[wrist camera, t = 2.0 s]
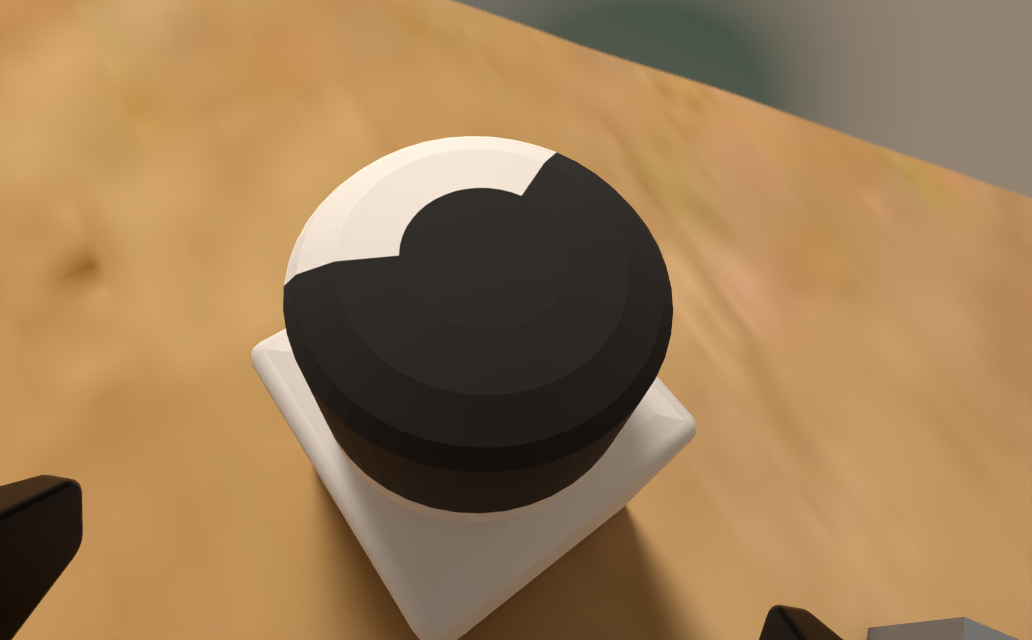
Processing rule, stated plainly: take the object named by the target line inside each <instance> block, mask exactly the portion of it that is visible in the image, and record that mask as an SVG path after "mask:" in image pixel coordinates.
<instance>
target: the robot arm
mask: <svg viewBox="0 0 1032 640" xmlns="http://www.w3.org/2000/svg"><path fill="white" fill-rule="evenodd" d="M82 535H83V521H82V489H81V486H80V484H79V483H78V482H77V481H75V480H73V479H69V478H63V477H57V476H52V475H40V476H36V477H33V478H29V479H25V480H22V481H18V482H14V483H10V484H7V485H3V486H0V640H12V639H13V637H14V636H15V635H16V633H17V632H18V631H19V629H20V628H21V627H22V625H23V624H24V623H25V621H26V620H27V619H28V617H29V616H30V615H31V613H32V612H33V611H34V609H35V608H36V607H37V605H38V604H39V603H40V601H41V600H42V599H43V597H44V596H45V595H46V594H47V592H48V591H49V590H50V588H51V587H52V586H53V584H54V583H55V582H56V580H57V579H58V578H59V576H60V575H61V574H62V572H63V571H64V570H65V568H66V567H67V566H68V564H69V563H70V562H71V560H72V559H73V558H74V556H75V555H76V553H77V551H78V549H79V547H80V544H81V541H82ZM759 640H843V639H842V638H840V637H839V636H838V635H837V634H836V633H834V632H833V631H832V630H831V629H829V628H828V627H827V626H826V625H825V624H823V623H822V622H821V621H820V620H818V619H817V618H816V617H815V616H814V615H812V614H811V613H810V612H808V611H807V610H804V609H801V608H795V607H789V606H783V605H775V606H773V607H772V608H771V609H770V610H769V612H768V614H767V617H766V620H765V623H764V626H763V629H762V632H761V635H760V638H759Z"/></svg>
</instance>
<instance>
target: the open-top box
mask: <svg viewBox="0 0 1032 640" xmlns="http://www.w3.org/2000/svg"><path fill="white" fill-rule="evenodd" d="M867 640H1018V639H1016V638H1014V637H1011V636H1009V635H1006V634H1004V633H1001V632H999V631H997V630H994V629H992V628H989V627H987V626H985V625H982V624H980V623H977V622H975V621H972V620H970V619H968V618H965V617H960V618H951V619H943V620H934V621H925V622H916V623H907V624H899V625H890V626H881V627H872V628H868V637H867Z"/></svg>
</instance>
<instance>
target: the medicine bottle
mask: <svg viewBox="0 0 1032 640" xmlns="http://www.w3.org/2000/svg"><path fill="white" fill-rule="evenodd" d="M283 312H284V318H285V325H286V329H284V330H282V331H280V332H278V333H276V334H275V335H273V336H271V337H269V338H267V339H265V340H263V341H261V342H260V343H259V344H257V345H256V346H255V347H254V348H253V351H252V353H251V360H252V365H253V367H254V369H255V371H256V372H257V374H258V376H259V377H260V379H261V381H262V382H263V384H264V385H265V387H266V389H267V390H268V392H269V394H270V395H271V397H272V399H273V400H274V402H275V404H276V405H277V407H278V409H279V410H280V412H281V414H282V415H283V417H284V419H285V420H286V422H287V424H288V425H289V427H290V429H291V430H292V432H293V434H294V435H295V437H296V438H297V440H298V442H299V443H300V445H301V447H302V448H303V450H304V452H305V453H306V455H307V457H308V458H309V460H310V462H311V463H312V465H313V467H314V468H315V470H316V472H317V473H318V475H319V477H320V478H321V480H322V482H323V483H324V485H325V487H326V488H327V490H328V492H329V493H330V495H331V496H332V498H333V500H334V501H335V503H336V505H337V506H338V508H339V510H340V511H341V513H342V515H343V516H344V518H345V520H346V521H347V523H348V525H349V526H350V528H351V530H352V531H353V533H354V535H355V536H356V538H357V540H358V541H359V543H360V545H361V546H362V548H363V549H364V551H365V553H366V554H367V556H368V558H369V559H370V561H371V563H372V564H373V566H374V568H375V569H376V571H377V573H378V574H379V576H380V578H381V579H382V581H383V583H384V584H385V586H386V588H387V589H388V591H389V593H390V594H391V596H392V598H393V599H394V601H395V603H396V604H397V606H398V607H399V609H400V611H401V612H402V614H403V616H404V617H405V619H406V621H407V622H408V624H409V626H410V627H411V629H412V631H413V632H414V633H415V634H416V636H417V637H418V638H419V639H420V640H458V639H459V638H460V637H462V636H463V635H464V634H465V633H467V632H468V631H469V630H470V629H472V628H473V627H474V626H475V625H477V624H478V623H479V622H480V621H482V620H483V619H484V618H485V617H487V616H488V615H489V614H490V613H492V612H493V611H494V610H495V609H497V608H498V607H499V606H500V605H502V604H503V603H504V602H505V601H507V600H508V599H509V598H510V597H512V596H513V595H514V594H515V593H517V592H518V591H519V590H520V589H522V588H523V587H524V586H525V585H527V584H528V583H529V582H530V581H532V580H533V579H534V578H535V577H537V576H538V575H539V574H540V573H542V572H543V571H544V570H546V569H547V568H548V567H549V566H551V565H552V564H553V563H554V562H556V561H557V560H558V559H559V558H561V557H562V556H563V555H564V554H566V553H567V552H568V551H569V550H571V549H572V548H573V547H574V546H576V545H577V544H578V543H579V542H581V541H582V540H583V539H584V538H586V537H587V536H588V535H589V534H591V533H592V532H593V531H594V530H596V529H597V528H598V527H599V526H601V525H602V524H603V523H604V522H606V521H607V520H608V519H609V518H611V517H612V516H613V515H614V514H616V513H617V512H618V511H619V510H621V509H622V508H623V507H624V506H625V505H626V504H627V503H628V502H629V501H630V500H631V499H632V498H633V497H634V496H635V495H636V494H637V493H638V492H639V491H640V490H641V489H642V488H643V487H644V486H645V485H646V484H647V483H648V482H649V481H650V480H652V479H653V478H654V477H655V476H656V475H657V474H658V473H659V472H660V471H661V470H662V469H663V468H664V467H665V466H666V465H667V464H668V463H669V462H670V461H671V460H672V459H673V458H674V457H675V456H676V455H677V454H678V453H679V452H680V451H681V450H682V449H683V448H684V447H685V446H686V445H687V444H688V443H689V442H690V441H691V440H692V438H693V437H694V435H695V434H696V422H695V420H694V418H693V416H692V415H691V414H690V413H689V412H688V411H687V409H686V408H685V407H684V406H683V405H682V404H681V403H680V402H679V400H678V399H677V398H676V397H675V396H674V395H673V394H672V392H671V391H670V390H669V389H668V388H667V387H666V386H665V385H664V383H663V382H662V381H661V380H660V379H659V378H658V377H657V374H658V372H659V370H660V368H661V365H662V363H663V361H664V359H665V356H666V352H667V348H668V344H669V340H670V336H671V329H672V318H673V303H672V289H671V285H670V280H669V276H668V272H667V267H666V265H665V262H664V259H663V257H662V254H661V252H660V249H659V247H658V245H657V243H656V241H655V240H654V238H653V236H652V234H651V232H650V231H649V229H648V227H647V226H646V224H645V223H644V222H643V220H642V219H641V218H640V217H639V215H638V214H637V213H636V211H635V210H634V209H633V208H632V207H631V206H630V205H629V204H628V203H627V202H626V201H625V200H624V199H623V197H622V196H621V195H620V194H619V193H618V192H617V191H616V190H614V189H613V188H612V187H611V186H610V185H609V184H608V183H606V182H605V181H604V180H603V179H601V178H600V177H599V176H597V175H596V174H595V173H593V172H592V171H590V170H589V169H587V168H585V167H584V166H582V165H581V164H579V163H577V162H576V161H573V160H571V159H569V158H567V157H565V156H563V155H561V154H559V153H557V152H554V151H551V150H548V149H546V148H543V147H540V146H537V145H534V144H529V143H525V142H521V141H517V140H512V139H504V138H497V137H480V136H465V137H452V138H443V139H438V140H432V141H427V142H423V143H419V144H416V145H413V146H409V147H406V148H403V149H400V150H398V151H396V152H393V153H391V154H389V155H386V156H384V157H382V158H380V159H378V160H377V161H375V162H373V163H371V164H370V165H368V166H366V167H364V168H363V169H361V170H360V171H358V172H357V173H356V174H354V175H353V176H352V177H350V178H349V179H348V180H346V181H345V182H344V183H342V184H341V185H340V186H338V187H337V188H336V189H335V190H334V191H333V192H332V193H331V194H330V195H329V196H328V197H327V198H326V199H325V200H324V201H323V202H322V203H321V204H320V206H319V207H318V208H317V209H316V211H315V212H314V213H313V215H312V216H311V217H310V219H309V220H308V221H307V223H306V225H305V227H304V228H303V230H302V232H301V234H300V236H299V237H298V239H297V241H296V243H295V246H294V249H293V252H292V254H291V257H290V260H289V262H288V267H287V272H286V278H285V283H284V301H283Z"/></svg>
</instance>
